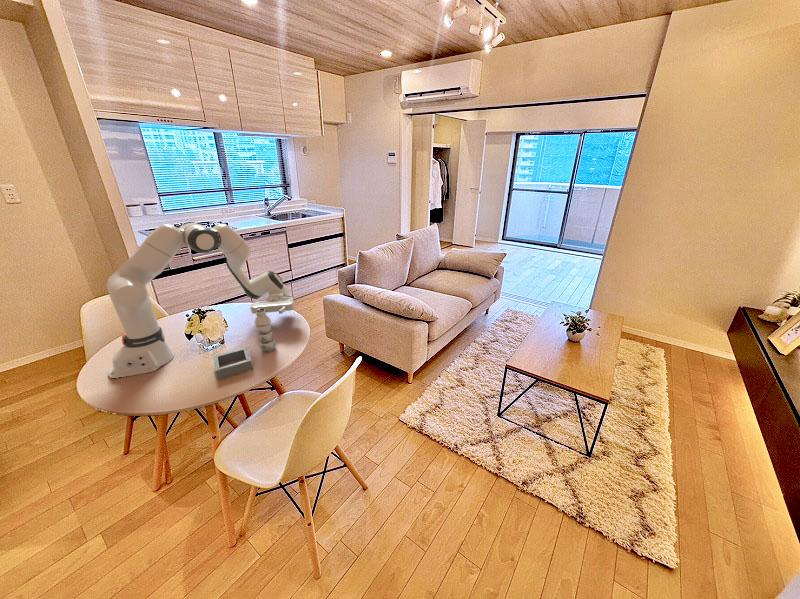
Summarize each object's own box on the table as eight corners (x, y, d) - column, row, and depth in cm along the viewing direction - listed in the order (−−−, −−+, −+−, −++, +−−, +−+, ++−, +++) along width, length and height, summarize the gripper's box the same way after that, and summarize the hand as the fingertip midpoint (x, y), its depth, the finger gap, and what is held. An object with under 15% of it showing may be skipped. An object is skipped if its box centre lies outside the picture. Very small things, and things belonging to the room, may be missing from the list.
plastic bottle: (271, 354, 142) (263, 314, 134) (258, 352, 143) (248, 313, 135) (279, 346, 148) (271, 308, 139) (266, 345, 149) (257, 306, 141)
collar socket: (218, 380, 126) (215, 370, 124) (215, 364, 135) (213, 356, 133) (253, 369, 132) (251, 360, 130) (248, 355, 141) (246, 346, 140)
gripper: (253, 297, 161) (245, 309, 149) (294, 294, 164) (290, 305, 151) (255, 308, 164) (248, 321, 151) (296, 305, 167) (293, 317, 154)
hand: (270, 313), depth 151 cm, fingers open, 8 cm apart
